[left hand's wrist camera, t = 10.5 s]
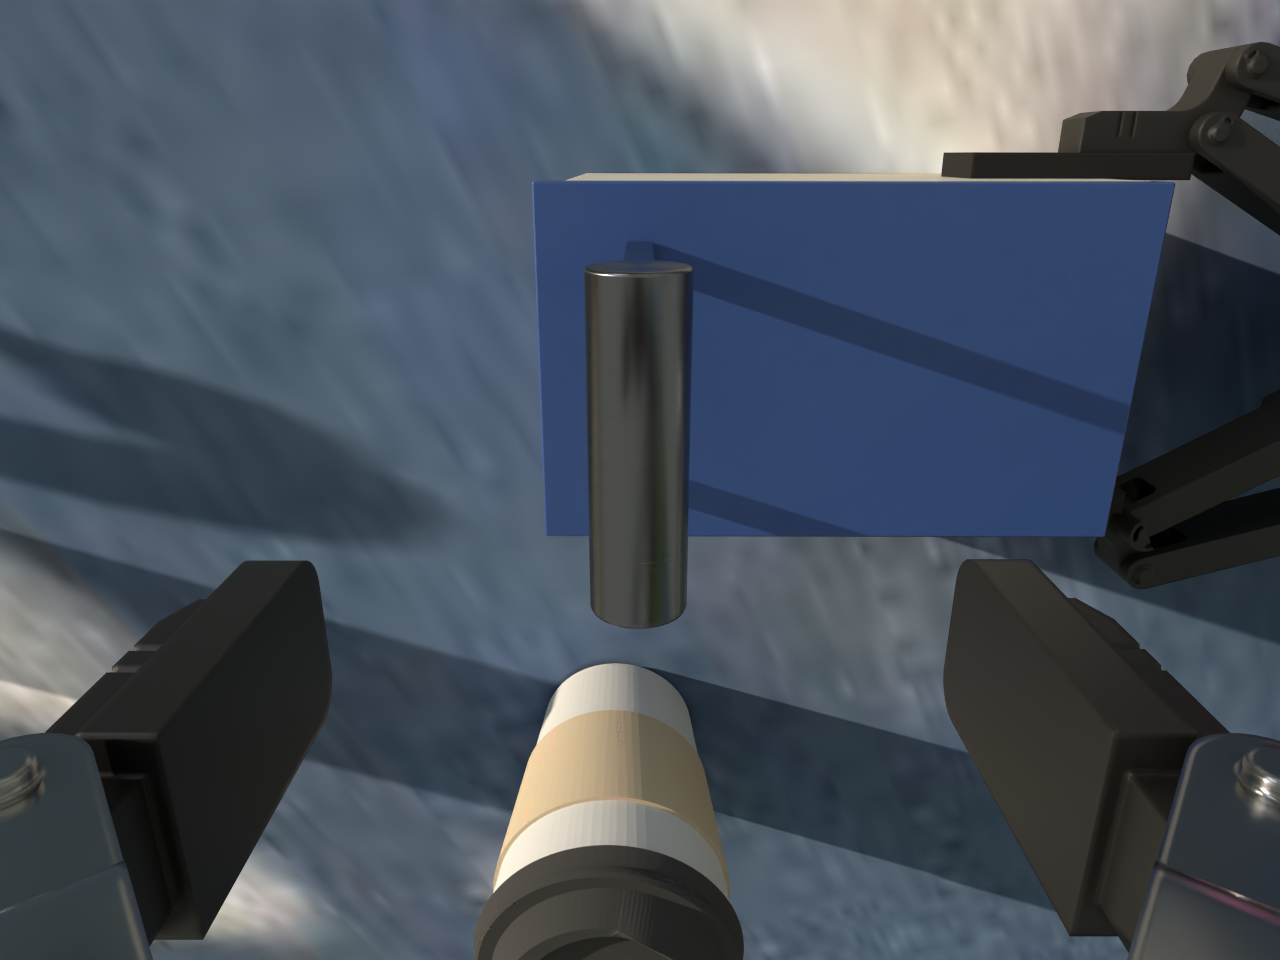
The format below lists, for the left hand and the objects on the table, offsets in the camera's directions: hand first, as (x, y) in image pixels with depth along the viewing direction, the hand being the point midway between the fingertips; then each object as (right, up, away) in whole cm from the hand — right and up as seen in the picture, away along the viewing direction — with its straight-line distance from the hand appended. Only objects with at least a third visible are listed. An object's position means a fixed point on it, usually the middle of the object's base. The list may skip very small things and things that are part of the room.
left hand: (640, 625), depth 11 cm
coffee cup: (-1, -10, +30) cm, 32 cm away
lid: (+6, +5, +14) cm, 16 cm away
